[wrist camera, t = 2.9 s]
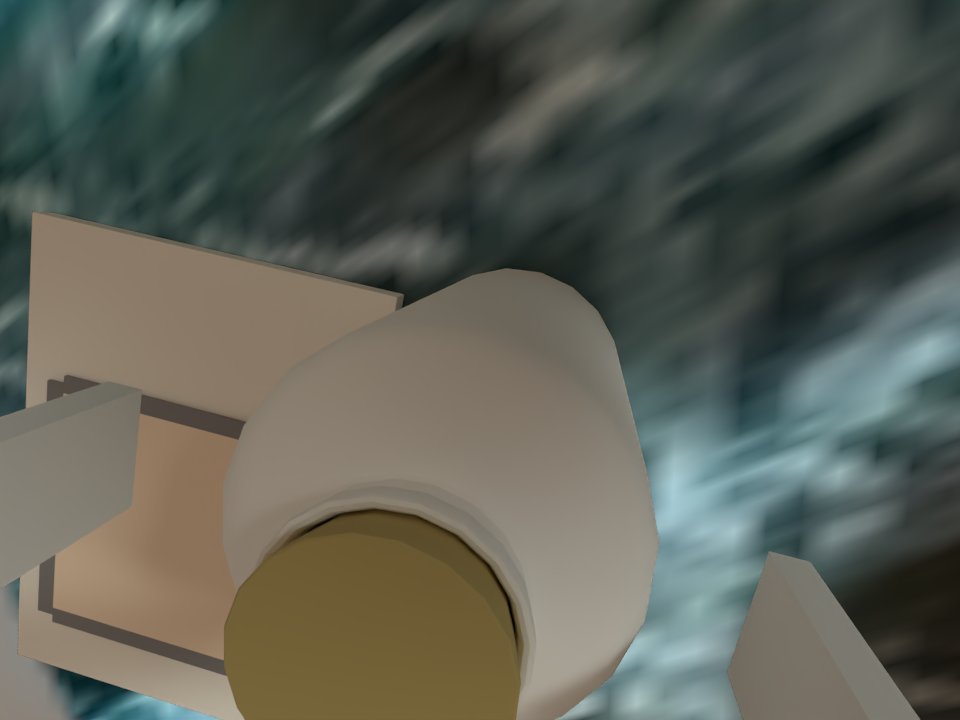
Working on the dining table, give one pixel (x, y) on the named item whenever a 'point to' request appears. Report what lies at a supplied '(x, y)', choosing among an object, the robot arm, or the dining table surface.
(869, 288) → the dining table surface
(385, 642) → the potion bottle
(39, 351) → the colouring board
